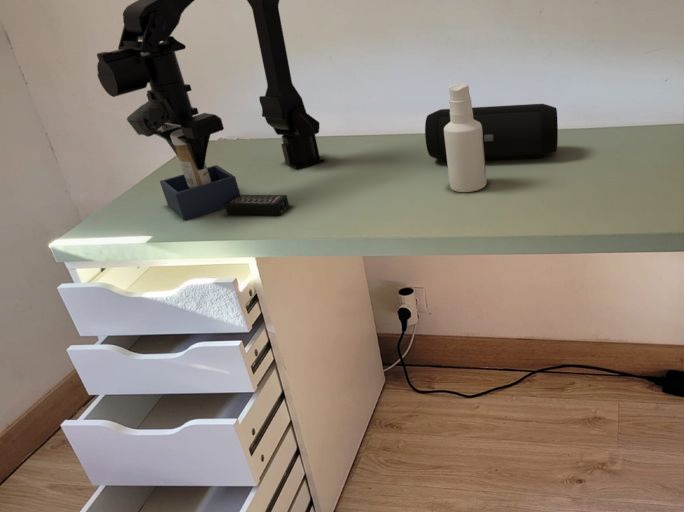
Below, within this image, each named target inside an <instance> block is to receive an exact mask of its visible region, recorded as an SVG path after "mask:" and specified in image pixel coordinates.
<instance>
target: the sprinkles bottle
mask: <svg viewBox="0 0 684 512" xmlns="http://www.w3.org/2000/svg"><path fill="white" fill-rule="evenodd" d="M182 135H184V134H183V133H182V130H181V129H180V130H176V131H174V132H172V133H171V134H170V137H171V140H172V143H173V145H174V147H175V149H176V152H177V154H178V156H177V159H178V161H179V164H180V167H181V170H182V174H184V176H185V179H186V181H187V184H188V187H189V189H190V188H194V187H197V186H201V185H204V184H208V183H211V179H210V176H209V173H208V170H207V168H208V167H207V164H206V163H205V164H204V168H203V169H201V170H198V169H197V167H196V165H195V163H194V161H193V158H192V156H191V154H190V151H189V149H188V147H187V145H186V144H185V143H184V142H182V141H181V140H179V139H177V137H180V136H182Z"/></svg>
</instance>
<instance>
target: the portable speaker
mask: <svg viewBox="0 0 684 512" xmlns="http://www.w3.org/2000/svg"><path fill="white" fill-rule="evenodd" d="M472 110H473V119H474V120H476V121H478V122H480V123H481V125H482V133H483V145H484V157H485V161H492V160H493V161H494V160H515V159H516V160H517V159H537V158H544V157H546V156H548V155H551V154H553V153H555V152H557V151H558V141H559V140H558V138H559V131H558V130H559V127H558V125H559V124H558V123H559V121H558V109H557V107H555V106H552V105H550V104H549V105H548V104H546V103H529V104H527V103H526V104H510V105H495V106H494V105H493V106H492V105H491V106H475V107H472ZM449 122H451V120H450V108H441V109H438V110H436V111H434V112H432V113H429V114H427V116H426V118H425V123H424V137H425V138H424V139H425V145H426V150H427V151H426V152H427V153H428V155H429V157H431V158H433V159H436V160H440V161H442V162H443V161H444V162H447V155H446V146H445V137H444V127H445V126H446V125H447V124H448V123H449Z"/></svg>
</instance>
